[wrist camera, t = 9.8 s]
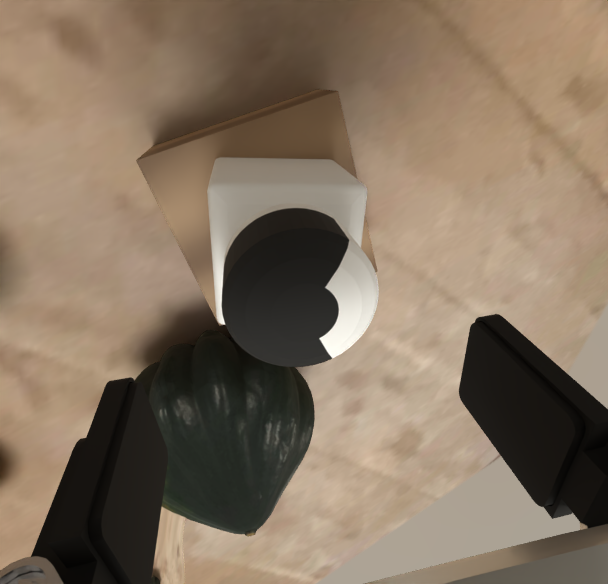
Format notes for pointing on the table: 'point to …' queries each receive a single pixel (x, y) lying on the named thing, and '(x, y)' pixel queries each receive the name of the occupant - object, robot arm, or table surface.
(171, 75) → the table surface
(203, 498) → the squash
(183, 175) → the walnut block
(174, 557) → the silver metal vase
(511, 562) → the robot arm
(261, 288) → the medicine bottle
